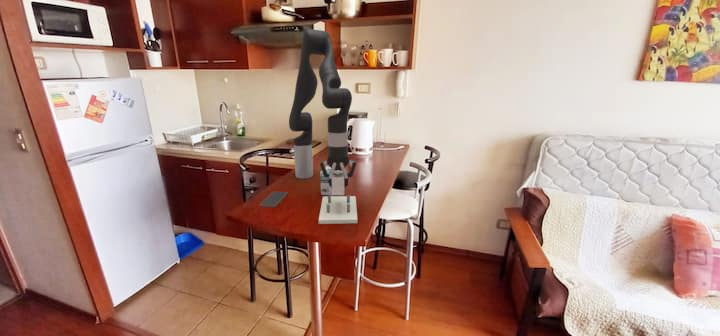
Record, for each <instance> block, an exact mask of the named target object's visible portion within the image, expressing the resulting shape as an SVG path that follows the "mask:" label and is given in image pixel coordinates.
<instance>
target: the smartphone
mask: <svg viewBox="0 0 720 336" xmlns="http://www.w3.org/2000/svg"><path fill="white" fill-rule="evenodd" d="M287 195H288V192H287V191H272V192H271V193H270V194H269V195H268V196H267V197H266V198H264V199H263V201H262V202H260V203H259V205H258V206H259V207H263V206H265V208H266V207H267V208H276V207H277V206H279V204H280V203H281V202H282V201H283V200H284V199H286V197H287Z"/></svg>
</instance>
